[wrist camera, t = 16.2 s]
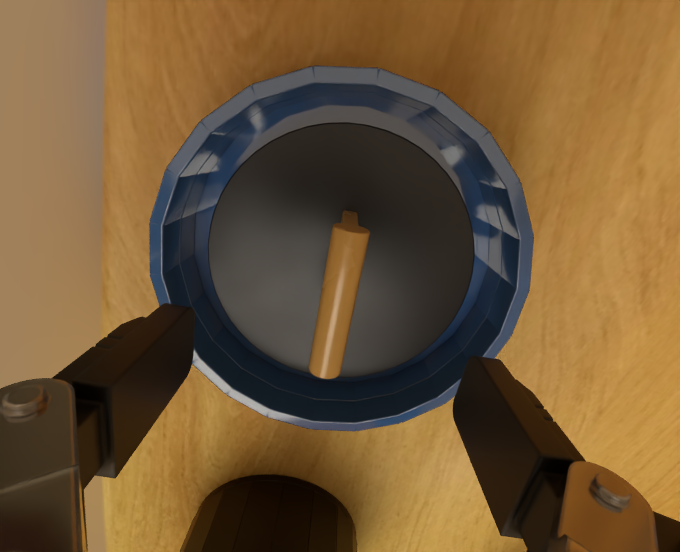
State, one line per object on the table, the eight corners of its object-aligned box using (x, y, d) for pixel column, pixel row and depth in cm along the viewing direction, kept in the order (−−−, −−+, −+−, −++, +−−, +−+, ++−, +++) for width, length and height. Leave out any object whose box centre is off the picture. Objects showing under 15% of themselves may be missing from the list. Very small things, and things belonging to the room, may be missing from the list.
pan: (184, 360, 22) (150, 404, 18) (193, 51, 16) (146, 21, 12) (445, 403, 23) (465, 454, 19) (544, 119, 17) (601, 111, 13)
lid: (209, 345, 21) (153, 425, 15) (224, 98, 16) (151, 69, 10) (429, 382, 21) (461, 473, 15) (502, 152, 17) (588, 154, 11)
